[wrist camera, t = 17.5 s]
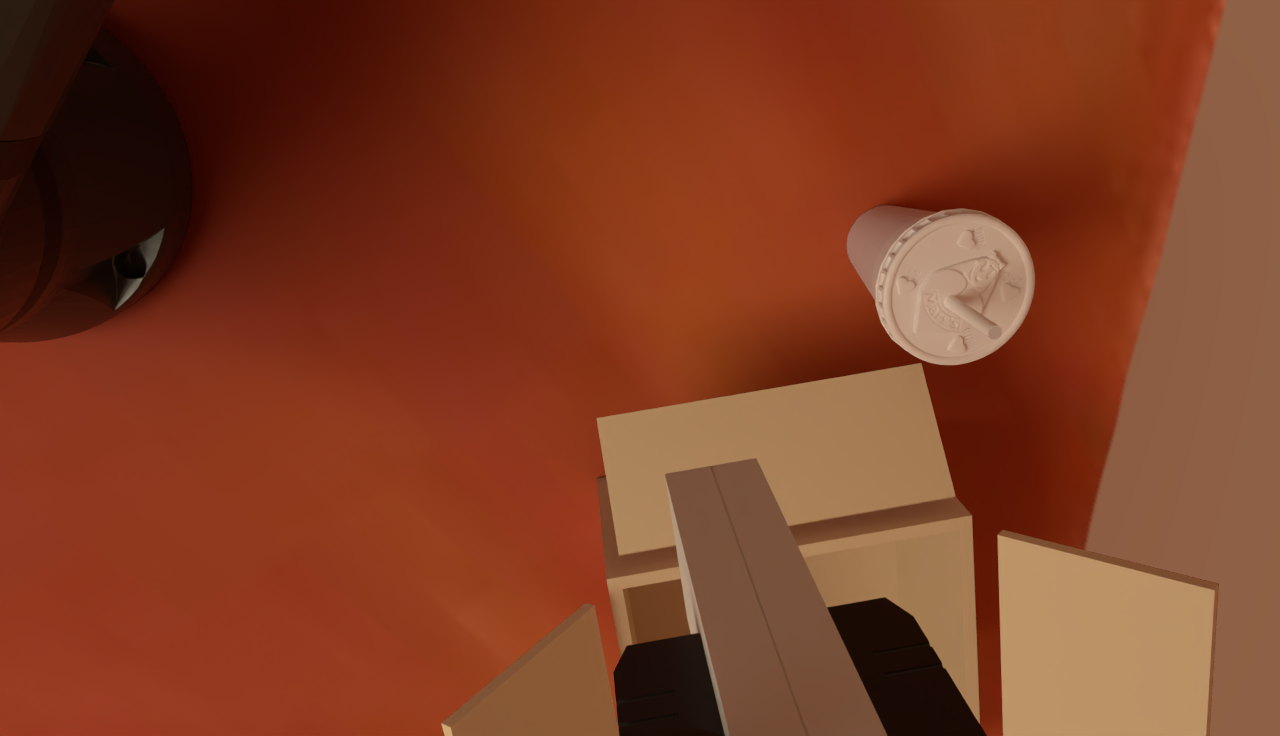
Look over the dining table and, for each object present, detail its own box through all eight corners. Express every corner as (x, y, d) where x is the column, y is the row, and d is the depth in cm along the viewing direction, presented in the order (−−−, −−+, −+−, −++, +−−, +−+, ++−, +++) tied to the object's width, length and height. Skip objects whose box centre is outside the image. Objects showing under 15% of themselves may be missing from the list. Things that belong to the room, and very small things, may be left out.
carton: (636, 697, 56) (653, 833, 46) (596, 478, 51) (606, 579, 42) (910, 649, 56) (981, 773, 47) (895, 426, 52) (972, 515, 42)
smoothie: (793, 241, 48) (884, 321, 35) (893, 149, 47) (1027, 195, 34) (873, 330, 50) (989, 438, 36) (972, 243, 49) (1127, 322, 35)
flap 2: (596, 418, 43) (597, 420, 43) (618, 554, 41) (619, 555, 42) (921, 363, 43) (918, 366, 44) (955, 495, 42) (952, 497, 42)
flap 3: (1198, 860, 40) (1202, 852, 40) (1214, 590, 36) (1218, 583, 36) (1004, 777, 46) (1008, 770, 46) (997, 534, 41) (1002, 529, 42)
